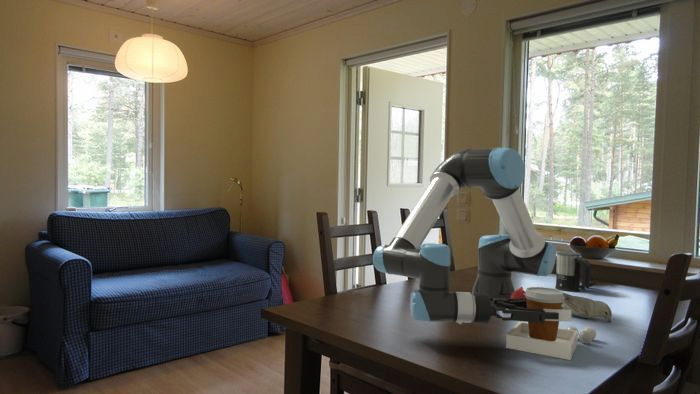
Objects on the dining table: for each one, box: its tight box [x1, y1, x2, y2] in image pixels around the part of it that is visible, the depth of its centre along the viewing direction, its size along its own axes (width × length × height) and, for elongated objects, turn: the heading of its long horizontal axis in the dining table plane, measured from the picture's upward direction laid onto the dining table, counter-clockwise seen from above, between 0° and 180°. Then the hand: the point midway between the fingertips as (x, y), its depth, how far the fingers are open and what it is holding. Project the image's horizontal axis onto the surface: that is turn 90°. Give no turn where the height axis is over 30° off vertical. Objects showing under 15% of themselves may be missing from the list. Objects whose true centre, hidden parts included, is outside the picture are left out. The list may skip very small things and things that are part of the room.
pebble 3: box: [582, 326, 597, 341], centre depth 128 cm, size 3×3×3 cm
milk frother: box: [554, 251, 598, 292], centre depth 197 cm, size 14×16×15 cm
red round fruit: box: [511, 286, 526, 300], centre depth 157 cm, size 6×6×8 cm
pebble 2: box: [578, 330, 594, 344], centre depth 125 cm, size 3×3×3 cm
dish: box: [505, 321, 579, 361], centre depth 121 cm, size 15×15×3 cm
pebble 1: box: [566, 326, 580, 336], centre depth 128 cm, size 3×3×3 cm
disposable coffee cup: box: [524, 286, 565, 342], centre depth 121 cm, size 10×10×12 cm
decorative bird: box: [562, 292, 613, 323], centre depth 151 cm, size 5×16×8 cm, turn 58°
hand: (562, 311), depth 121 cm, fingers closed on disposable coffee cup, 8 cm apart
